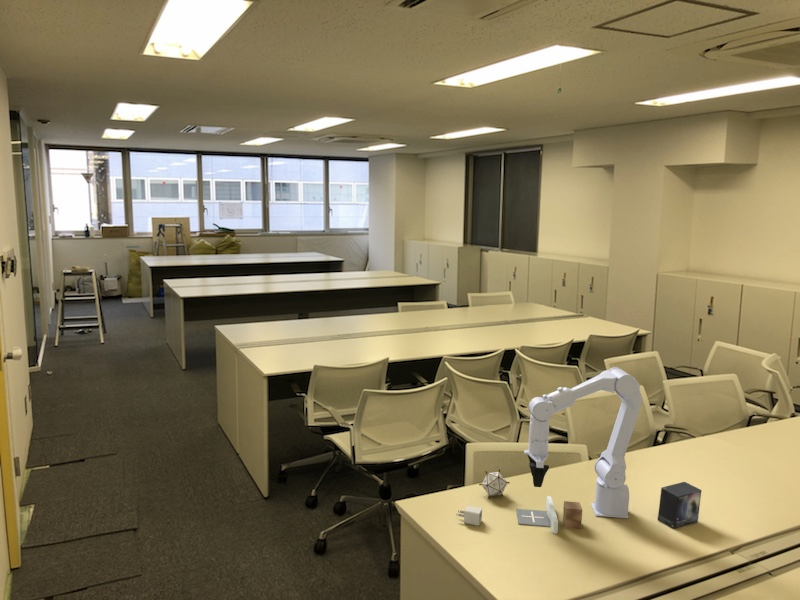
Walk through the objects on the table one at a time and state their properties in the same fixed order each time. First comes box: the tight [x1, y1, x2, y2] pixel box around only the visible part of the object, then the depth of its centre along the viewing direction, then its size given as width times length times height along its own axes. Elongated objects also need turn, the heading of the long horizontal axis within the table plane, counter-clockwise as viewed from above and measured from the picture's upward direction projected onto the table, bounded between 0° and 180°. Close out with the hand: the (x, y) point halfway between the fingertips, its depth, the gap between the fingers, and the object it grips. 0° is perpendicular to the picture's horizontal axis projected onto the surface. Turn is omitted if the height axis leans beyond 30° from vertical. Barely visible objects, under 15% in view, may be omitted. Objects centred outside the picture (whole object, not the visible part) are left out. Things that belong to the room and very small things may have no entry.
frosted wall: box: [545, 495, 559, 535], centre depth 183 cm, size 1×16×4 cm, turn 173°
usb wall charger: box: [455, 505, 483, 527], centre depth 180 cm, size 4×7×4 cm, turn 70°
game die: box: [478, 468, 511, 499], centre depth 197 cm, size 9×8×10 cm
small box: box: [657, 481, 703, 530], centre depth 183 cm, size 11×6×10 cm, turn 117°
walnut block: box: [562, 500, 583, 530], centre depth 180 cm, size 4×4×6 cm
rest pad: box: [515, 508, 551, 528], centre depth 184 cm, size 9×9×1 cm
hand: (536, 480), depth 187 cm, fingers open, 7 cm apart
